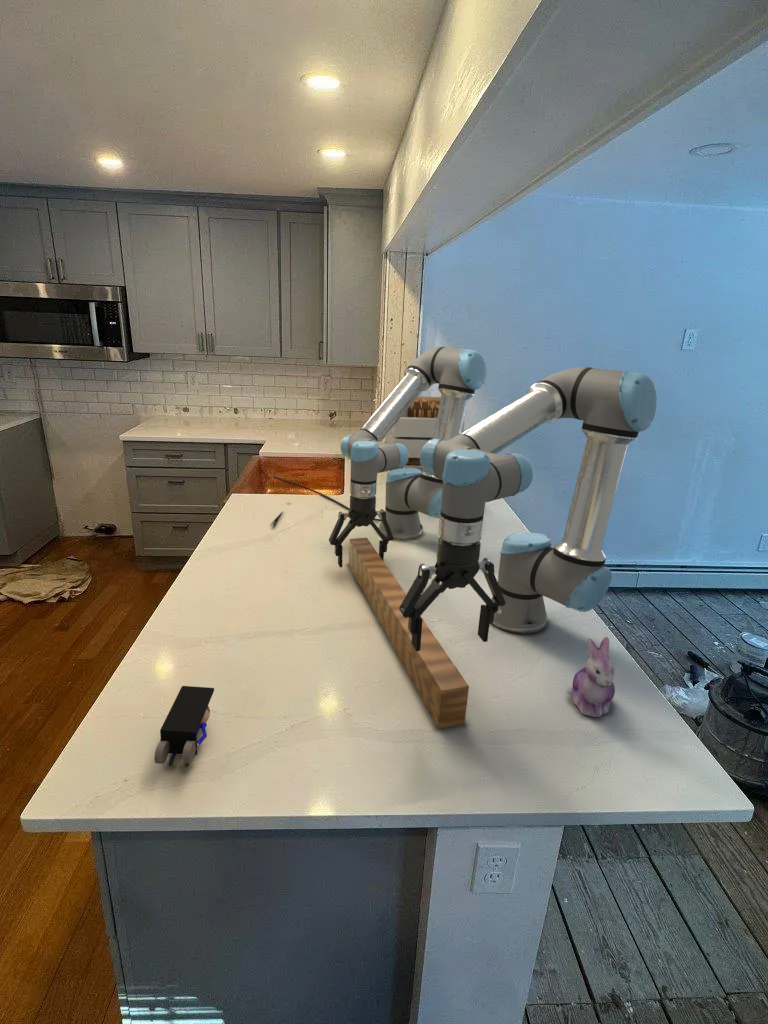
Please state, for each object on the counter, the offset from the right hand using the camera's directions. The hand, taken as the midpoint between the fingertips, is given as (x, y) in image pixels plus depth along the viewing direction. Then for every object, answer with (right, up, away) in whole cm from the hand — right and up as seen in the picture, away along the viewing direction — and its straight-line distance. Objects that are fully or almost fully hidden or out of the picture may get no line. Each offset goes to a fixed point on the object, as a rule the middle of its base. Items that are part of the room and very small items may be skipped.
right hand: (449, 642), depth 107 cm
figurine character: (-47, -17, -6) cm, 51 cm away
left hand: (-19, +9, +63) cm, 67 cm away
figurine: (+30, -15, +10) cm, 35 cm away
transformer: (+5, +44, +168) cm, 174 cm away
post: (-10, -4, +35) cm, 36 cm away
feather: (-51, +23, +105) cm, 119 cm away
